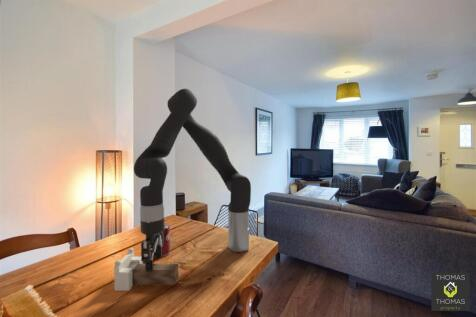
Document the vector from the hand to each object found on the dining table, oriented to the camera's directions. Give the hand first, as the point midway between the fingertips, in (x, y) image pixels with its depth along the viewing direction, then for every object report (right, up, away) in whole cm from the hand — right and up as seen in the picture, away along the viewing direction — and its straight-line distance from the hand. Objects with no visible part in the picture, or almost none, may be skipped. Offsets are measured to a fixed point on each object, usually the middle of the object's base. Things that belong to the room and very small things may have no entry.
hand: (154, 264), depth 78 cm
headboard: (-9, -6, +1) cm, 11 cm away
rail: (-1, -6, +1) cm, 6 cm away
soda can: (-4, -5, +21) cm, 22 cm away
